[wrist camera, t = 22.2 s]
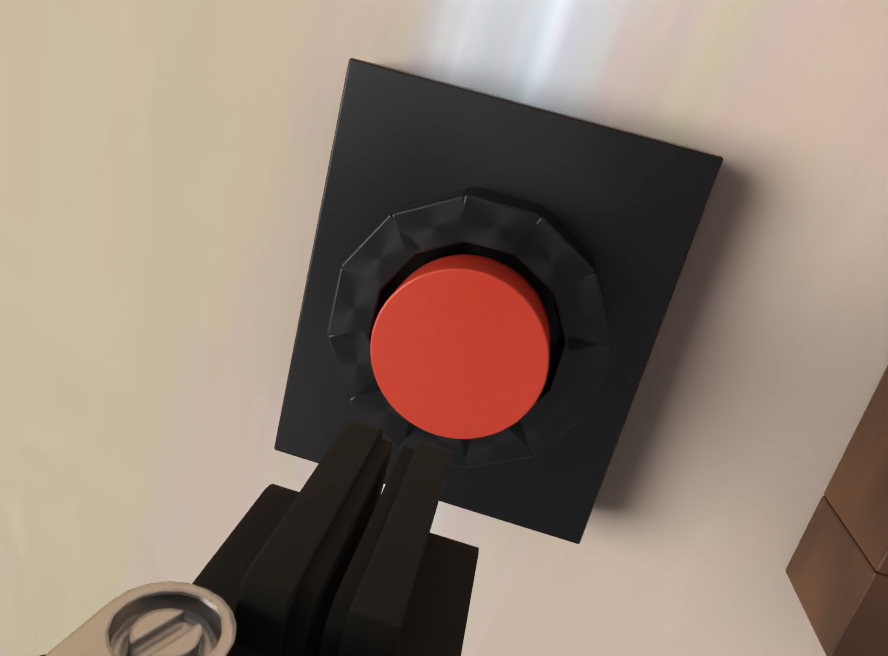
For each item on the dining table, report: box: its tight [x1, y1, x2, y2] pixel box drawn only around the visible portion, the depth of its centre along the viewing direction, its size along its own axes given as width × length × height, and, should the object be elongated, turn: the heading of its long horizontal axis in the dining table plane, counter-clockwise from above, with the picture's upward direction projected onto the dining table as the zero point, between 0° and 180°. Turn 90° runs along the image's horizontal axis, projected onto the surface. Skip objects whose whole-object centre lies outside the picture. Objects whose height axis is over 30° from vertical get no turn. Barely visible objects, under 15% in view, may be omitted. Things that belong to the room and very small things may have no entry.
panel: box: [274, 58, 723, 544], centre depth 20 cm, size 12×10×4 cm
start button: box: [370, 254, 550, 439], centre depth 18 cm, size 4×4×2 cm
